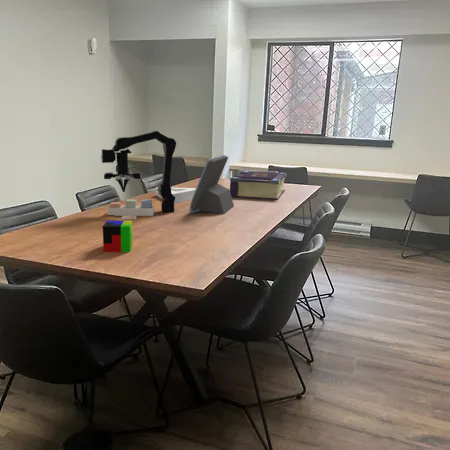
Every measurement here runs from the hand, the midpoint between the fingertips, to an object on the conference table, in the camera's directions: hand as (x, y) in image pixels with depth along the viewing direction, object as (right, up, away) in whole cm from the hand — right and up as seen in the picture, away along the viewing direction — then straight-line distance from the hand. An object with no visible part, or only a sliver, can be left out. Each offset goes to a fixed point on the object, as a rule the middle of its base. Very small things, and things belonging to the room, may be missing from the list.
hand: (123, 192), depth 246 cm
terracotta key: (-4, -11, 0) cm, 12 cm away
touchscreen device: (+46, -8, +21) cm, 51 cm away
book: (+76, +4, +79) cm, 110 cm away
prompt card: (+4, -14, -8) cm, 16 cm away
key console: (+4, -12, +1) cm, 12 cm away
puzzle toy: (+11, -27, -62) cm, 69 cm away
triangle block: (+19, -1, +53) cm, 56 cm away
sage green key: (+4, -9, 0) cm, 10 cm away
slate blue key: (+12, -9, +1) cm, 15 cm away
